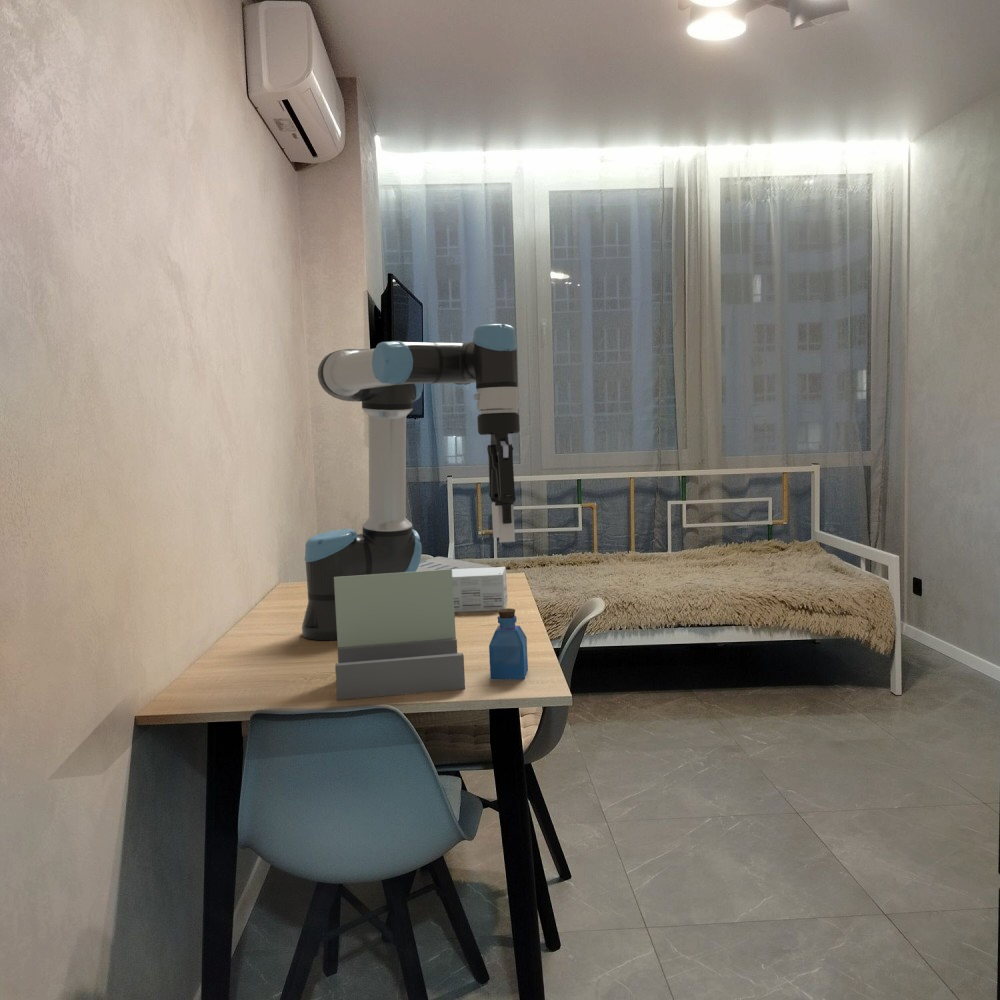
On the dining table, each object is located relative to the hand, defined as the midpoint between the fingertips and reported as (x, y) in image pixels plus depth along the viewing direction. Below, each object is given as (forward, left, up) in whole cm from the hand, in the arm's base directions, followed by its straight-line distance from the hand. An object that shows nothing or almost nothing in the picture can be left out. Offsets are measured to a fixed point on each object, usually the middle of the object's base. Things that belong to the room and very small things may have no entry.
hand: (503, 539), depth 156 cm
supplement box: (-65, +1, -25) cm, 70 cm away
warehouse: (-94, -3, -26) cm, 98 cm away
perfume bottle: (0, 0, -25) cm, 25 cm away
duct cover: (-7, -20, -13) cm, 25 cm away
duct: (0, -20, -25) cm, 32 cm away
